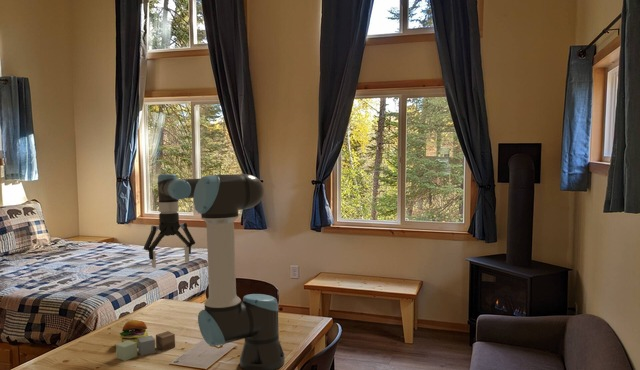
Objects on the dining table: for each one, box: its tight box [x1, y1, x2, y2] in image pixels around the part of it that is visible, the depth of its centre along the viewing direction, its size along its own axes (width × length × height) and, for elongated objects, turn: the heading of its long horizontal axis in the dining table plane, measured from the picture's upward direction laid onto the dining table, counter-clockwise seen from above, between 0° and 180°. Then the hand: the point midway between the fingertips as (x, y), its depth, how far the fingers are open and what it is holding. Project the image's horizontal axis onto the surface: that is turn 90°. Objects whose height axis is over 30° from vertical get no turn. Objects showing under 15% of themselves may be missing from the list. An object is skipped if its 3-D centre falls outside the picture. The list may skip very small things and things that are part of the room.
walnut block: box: [155, 331, 176, 352], centre depth 181 cm, size 5×5×5 cm
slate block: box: [137, 335, 156, 356], centre depth 177 cm, size 5×5×5 cm
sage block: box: [115, 340, 138, 362], centre depth 172 cm, size 5×5×5 cm
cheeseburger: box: [119, 319, 149, 347], centre depth 186 cm, size 10×11×10 cm
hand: (170, 264), depth 195 cm, fingers open, 13 cm apart
